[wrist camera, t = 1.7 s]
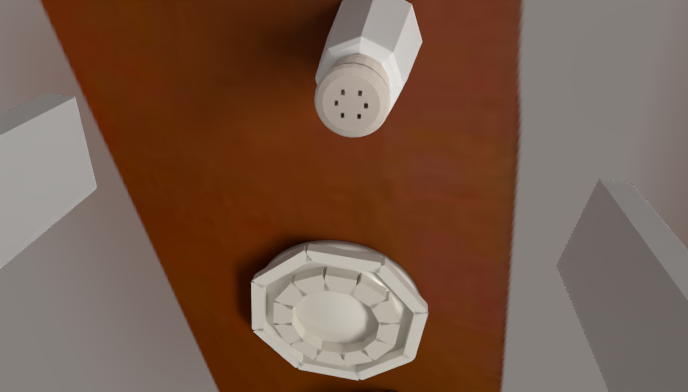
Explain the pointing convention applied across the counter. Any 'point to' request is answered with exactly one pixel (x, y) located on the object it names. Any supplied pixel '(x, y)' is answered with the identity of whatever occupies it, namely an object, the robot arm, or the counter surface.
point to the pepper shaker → (365, 64)
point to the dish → (338, 309)
